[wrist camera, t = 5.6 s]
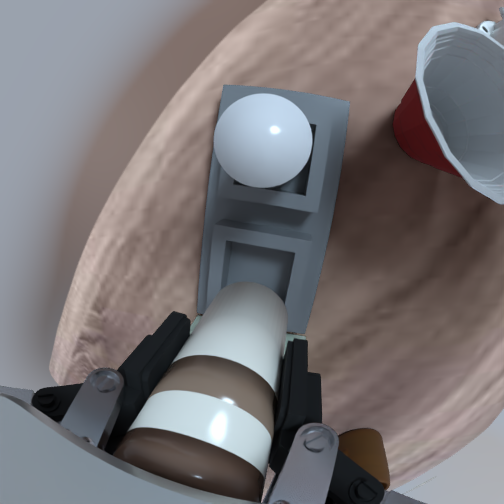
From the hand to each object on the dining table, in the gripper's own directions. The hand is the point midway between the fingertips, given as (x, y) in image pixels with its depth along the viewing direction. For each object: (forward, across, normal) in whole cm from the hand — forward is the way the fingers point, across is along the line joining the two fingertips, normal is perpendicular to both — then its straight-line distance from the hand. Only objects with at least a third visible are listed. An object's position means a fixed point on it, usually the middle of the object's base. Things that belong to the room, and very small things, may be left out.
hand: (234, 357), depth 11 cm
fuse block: (+14, +1, -4) cm, 15 cm away
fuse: (+12, +1, -8) cm, 15 cm away
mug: (+14, -15, +24) cm, 32 cm away
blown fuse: (+3, 0, 0) cm, 3 cm away
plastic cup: (+15, -11, -14) cm, 23 cm away
